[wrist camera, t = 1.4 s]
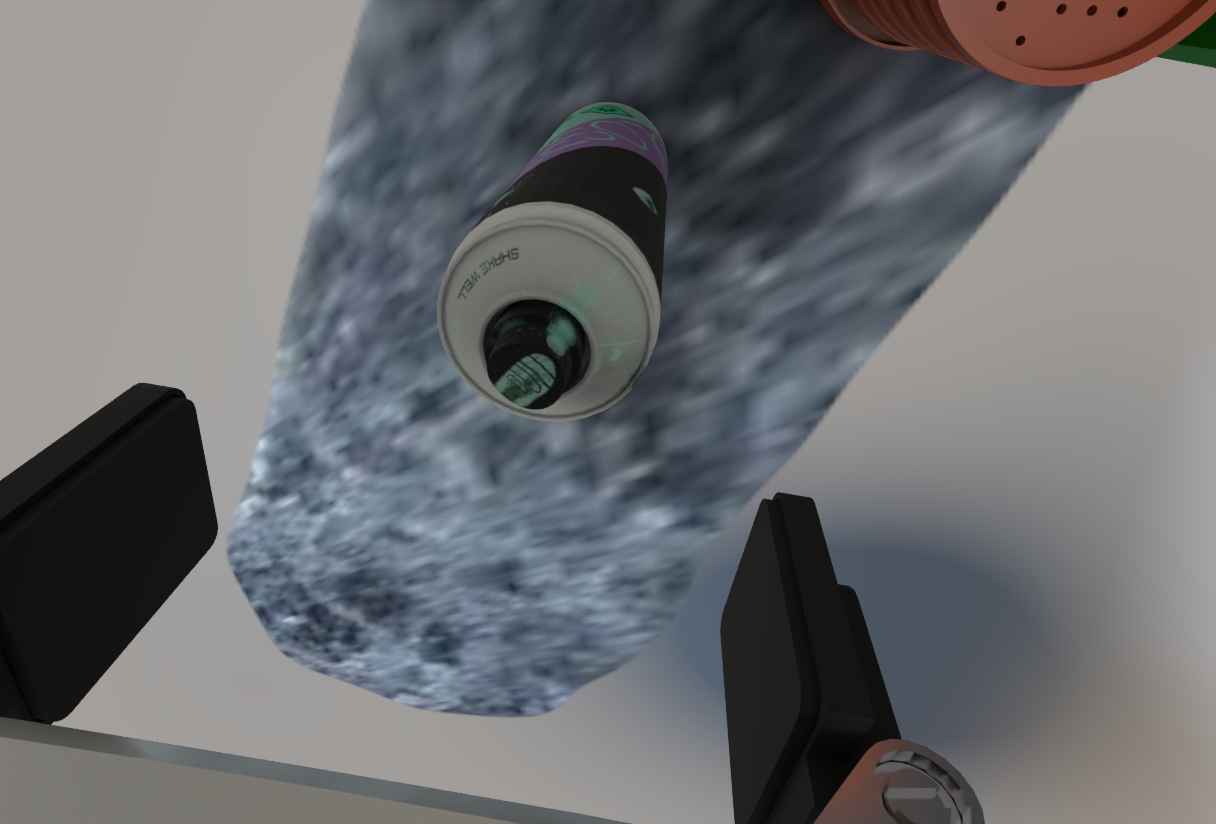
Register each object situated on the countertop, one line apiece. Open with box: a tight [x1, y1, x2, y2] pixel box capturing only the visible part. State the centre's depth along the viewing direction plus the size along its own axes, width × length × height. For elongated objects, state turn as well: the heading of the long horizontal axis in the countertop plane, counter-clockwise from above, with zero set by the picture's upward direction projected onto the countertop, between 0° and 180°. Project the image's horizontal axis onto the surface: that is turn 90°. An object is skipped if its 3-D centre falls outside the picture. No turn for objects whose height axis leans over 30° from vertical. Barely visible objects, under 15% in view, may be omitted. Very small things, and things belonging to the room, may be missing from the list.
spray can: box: [437, 102, 668, 422], centre depth 23 cm, size 6×6×20 cm
